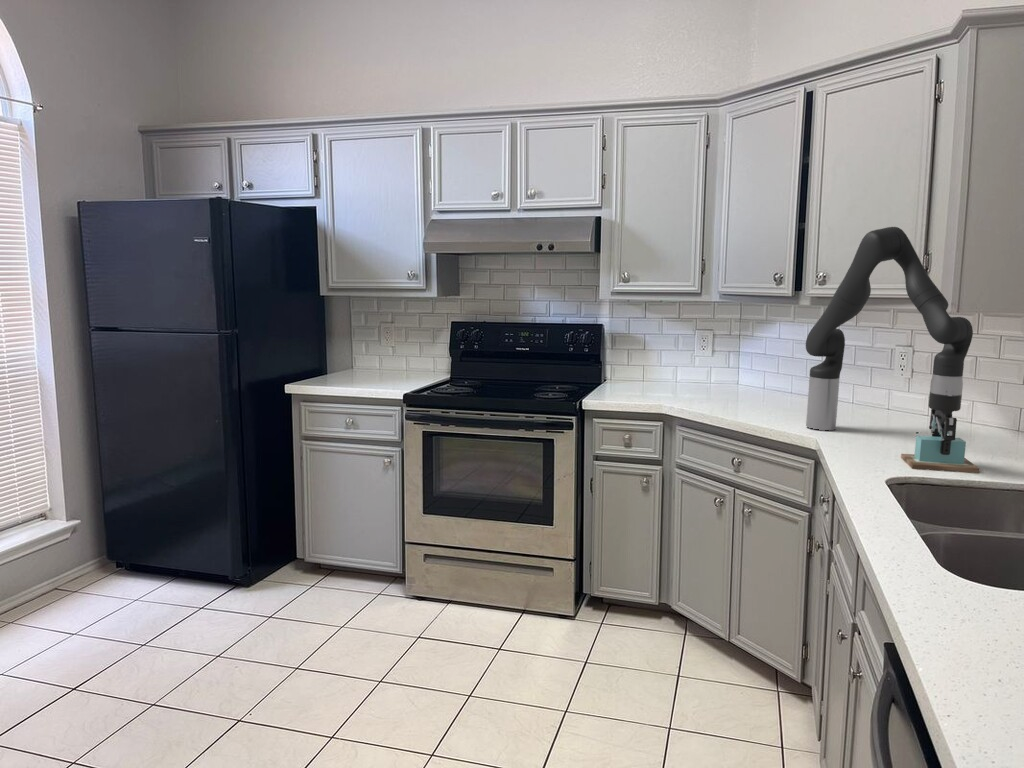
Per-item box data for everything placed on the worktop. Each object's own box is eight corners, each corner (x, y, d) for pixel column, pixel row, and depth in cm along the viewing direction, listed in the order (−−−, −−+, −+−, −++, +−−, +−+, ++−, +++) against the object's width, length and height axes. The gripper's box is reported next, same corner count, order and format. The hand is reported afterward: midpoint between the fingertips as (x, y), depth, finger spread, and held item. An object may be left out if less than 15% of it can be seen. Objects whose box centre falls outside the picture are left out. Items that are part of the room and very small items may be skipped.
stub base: (900, 457, 214) (902, 445, 213) (964, 461, 210) (965, 449, 209) (912, 468, 202) (913, 455, 202) (979, 473, 198) (980, 459, 198)
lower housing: (914, 456, 210) (916, 435, 209) (957, 459, 207) (959, 437, 206) (919, 461, 205) (921, 439, 204) (963, 463, 202) (966, 442, 201)
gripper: (923, 387, 211) (917, 444, 213) (938, 395, 197) (932, 456, 199) (952, 388, 209) (947, 445, 211) (970, 396, 195) (964, 458, 198)
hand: (940, 450), depth 205 cm, fingers open, 8 cm apart
